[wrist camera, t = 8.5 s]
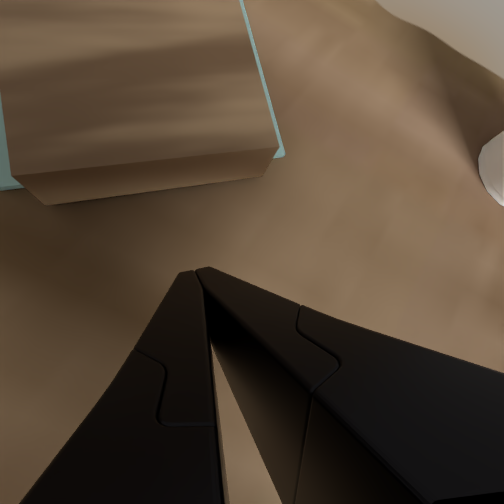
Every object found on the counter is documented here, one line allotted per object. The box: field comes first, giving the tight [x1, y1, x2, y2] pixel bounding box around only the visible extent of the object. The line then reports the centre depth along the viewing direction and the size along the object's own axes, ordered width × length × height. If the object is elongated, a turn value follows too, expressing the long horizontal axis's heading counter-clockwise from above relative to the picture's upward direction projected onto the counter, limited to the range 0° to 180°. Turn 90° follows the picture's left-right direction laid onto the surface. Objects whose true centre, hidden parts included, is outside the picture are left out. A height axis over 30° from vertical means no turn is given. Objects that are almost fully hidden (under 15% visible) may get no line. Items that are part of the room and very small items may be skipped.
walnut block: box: [0, 0, 280, 206], centre depth 17 cm, size 4×12×12 cm
